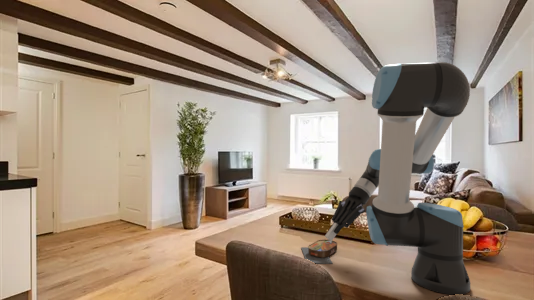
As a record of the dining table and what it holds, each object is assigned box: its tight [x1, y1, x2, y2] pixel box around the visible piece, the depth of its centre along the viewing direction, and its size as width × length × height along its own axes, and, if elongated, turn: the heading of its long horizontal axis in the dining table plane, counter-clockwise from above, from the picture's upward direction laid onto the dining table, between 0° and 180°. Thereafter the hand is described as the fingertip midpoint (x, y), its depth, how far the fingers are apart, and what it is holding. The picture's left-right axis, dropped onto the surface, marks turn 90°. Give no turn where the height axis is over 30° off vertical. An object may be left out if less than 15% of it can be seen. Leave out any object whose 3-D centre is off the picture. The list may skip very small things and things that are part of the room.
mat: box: [300, 246, 333, 265], centre depth 107 cm, size 16×9×1 cm, turn 0°
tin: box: [307, 239, 338, 258], centre depth 110 cm, size 15×3×8 cm
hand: (328, 238), depth 106 cm, fingers closed
